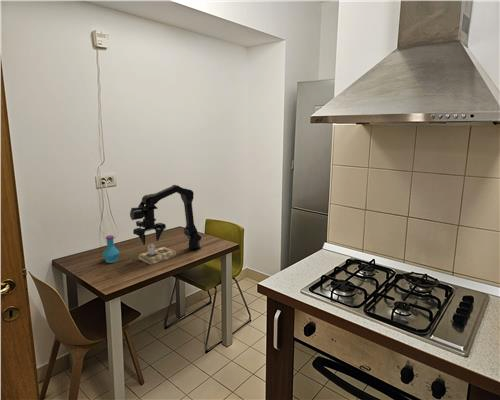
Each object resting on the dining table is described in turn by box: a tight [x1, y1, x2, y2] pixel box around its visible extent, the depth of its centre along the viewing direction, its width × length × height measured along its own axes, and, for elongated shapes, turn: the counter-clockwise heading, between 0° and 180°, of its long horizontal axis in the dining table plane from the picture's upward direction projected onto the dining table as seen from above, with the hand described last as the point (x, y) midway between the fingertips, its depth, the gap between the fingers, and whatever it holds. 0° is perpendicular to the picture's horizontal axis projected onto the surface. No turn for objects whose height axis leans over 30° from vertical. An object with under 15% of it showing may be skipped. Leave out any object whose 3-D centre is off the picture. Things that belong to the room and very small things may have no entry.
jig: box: [138, 246, 177, 265], centre depth 208 cm, size 18×12×3 cm, turn 141°
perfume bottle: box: [102, 234, 120, 263], centre depth 202 cm, size 9×9×15 cm
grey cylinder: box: [147, 243, 156, 257], centre depth 204 cm, size 4×4×9 cm
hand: (150, 242), depth 203 cm, fingers open, 9 cm apart
